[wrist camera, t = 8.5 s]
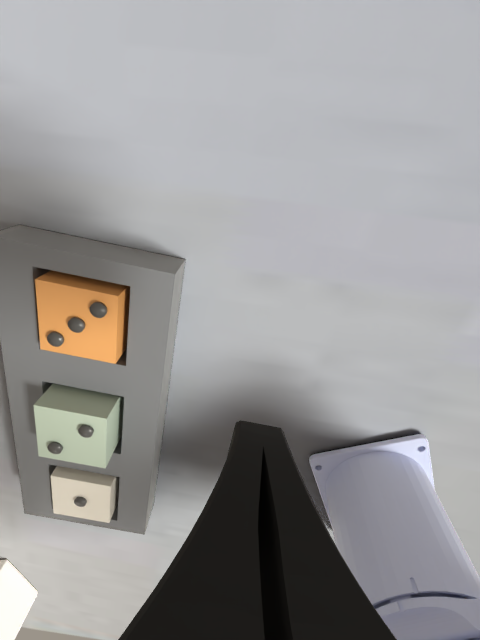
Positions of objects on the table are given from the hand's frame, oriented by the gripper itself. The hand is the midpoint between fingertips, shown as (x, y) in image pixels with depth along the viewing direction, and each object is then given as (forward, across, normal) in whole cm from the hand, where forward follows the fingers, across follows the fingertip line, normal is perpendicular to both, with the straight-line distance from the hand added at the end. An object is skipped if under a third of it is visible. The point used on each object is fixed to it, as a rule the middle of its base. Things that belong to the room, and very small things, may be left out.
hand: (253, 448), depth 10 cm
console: (+10, +9, +9) cm, 16 cm away
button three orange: (+11, +9, +2) cm, 15 cm away
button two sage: (+10, +9, +9) cm, 16 cm away
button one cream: (+10, +9, +16) cm, 21 cm away
